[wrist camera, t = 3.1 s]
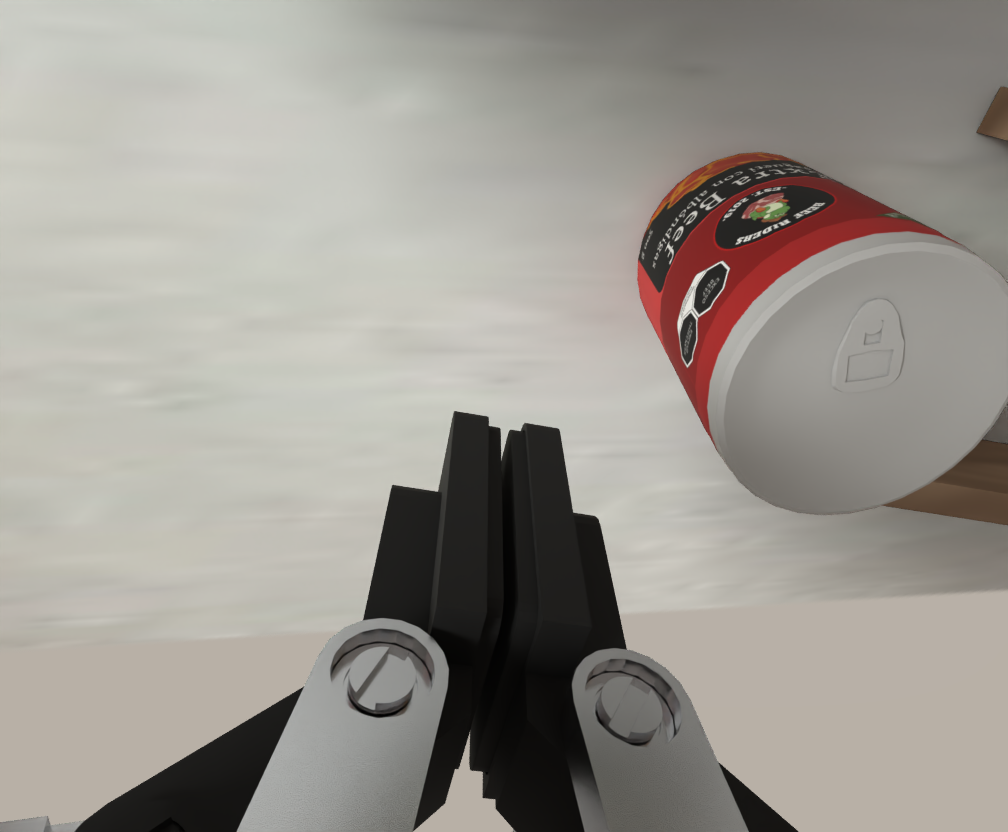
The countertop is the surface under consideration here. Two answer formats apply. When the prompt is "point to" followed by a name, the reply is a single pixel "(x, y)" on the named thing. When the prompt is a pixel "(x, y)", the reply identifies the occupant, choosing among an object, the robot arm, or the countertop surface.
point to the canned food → (823, 333)
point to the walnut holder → (990, 465)
